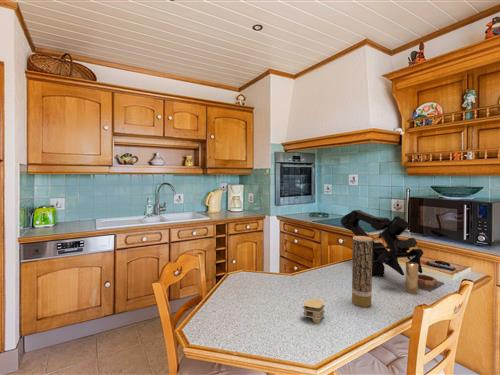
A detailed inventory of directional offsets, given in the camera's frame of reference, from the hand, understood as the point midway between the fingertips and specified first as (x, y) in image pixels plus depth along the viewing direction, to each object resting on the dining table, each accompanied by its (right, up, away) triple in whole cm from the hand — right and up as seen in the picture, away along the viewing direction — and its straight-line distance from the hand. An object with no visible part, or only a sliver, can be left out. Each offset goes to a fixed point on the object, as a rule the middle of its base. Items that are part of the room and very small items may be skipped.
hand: (412, 274), depth 111 cm
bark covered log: (-25, -8, -10) cm, 28 cm away
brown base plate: (+11, -7, +9) cm, 16 cm away
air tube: (0, -8, +1) cm, 8 cm away
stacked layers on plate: (-45, -9, -20) cm, 50 cm away
